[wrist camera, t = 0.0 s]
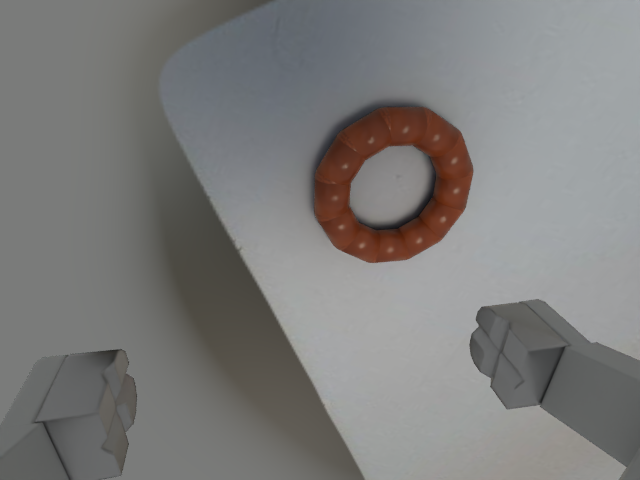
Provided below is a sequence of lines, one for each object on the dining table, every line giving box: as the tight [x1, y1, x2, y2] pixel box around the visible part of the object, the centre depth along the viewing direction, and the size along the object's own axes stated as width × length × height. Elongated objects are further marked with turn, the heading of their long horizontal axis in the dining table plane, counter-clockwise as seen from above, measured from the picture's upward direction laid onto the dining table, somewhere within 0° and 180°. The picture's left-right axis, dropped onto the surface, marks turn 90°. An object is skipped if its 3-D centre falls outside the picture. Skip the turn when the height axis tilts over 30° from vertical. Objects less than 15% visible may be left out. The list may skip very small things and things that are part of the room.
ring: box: [314, 107, 473, 263], centre depth 28 cm, size 11×11×2 cm
